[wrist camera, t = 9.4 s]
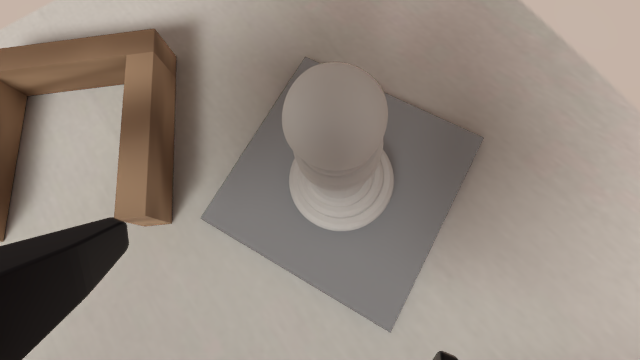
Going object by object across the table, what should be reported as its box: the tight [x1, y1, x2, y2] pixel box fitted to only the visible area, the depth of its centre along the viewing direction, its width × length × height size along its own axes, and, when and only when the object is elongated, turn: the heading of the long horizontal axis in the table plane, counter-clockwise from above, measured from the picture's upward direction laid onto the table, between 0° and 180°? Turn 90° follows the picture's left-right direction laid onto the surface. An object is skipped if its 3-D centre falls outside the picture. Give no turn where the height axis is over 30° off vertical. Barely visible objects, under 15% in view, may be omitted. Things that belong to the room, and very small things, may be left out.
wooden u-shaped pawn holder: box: [0, 29, 176, 242], centre depth 18 cm, size 10×11×2 cm
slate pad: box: [201, 57, 483, 332], centre depth 18 cm, size 11×11×1 cm
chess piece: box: [282, 62, 394, 231], centre depth 13 cm, size 5×5×9 cm
